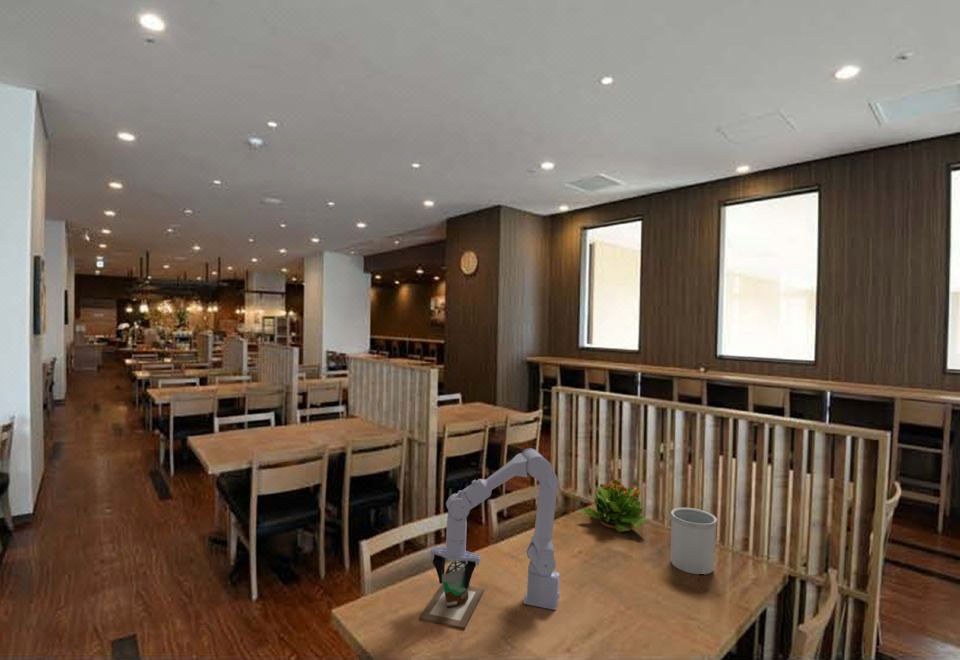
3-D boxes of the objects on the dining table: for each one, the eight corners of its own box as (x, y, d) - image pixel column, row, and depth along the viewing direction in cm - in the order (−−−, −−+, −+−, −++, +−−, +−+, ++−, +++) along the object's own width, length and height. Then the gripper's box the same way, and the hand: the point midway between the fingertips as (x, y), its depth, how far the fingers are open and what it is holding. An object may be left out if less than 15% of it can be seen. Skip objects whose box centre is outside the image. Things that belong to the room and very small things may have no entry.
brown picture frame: (484, 591, 151) (484, 589, 151) (464, 629, 132) (464, 627, 132) (443, 583, 155) (443, 581, 155) (418, 619, 135) (418, 617, 135)
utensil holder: (667, 569, 170) (670, 518, 169) (668, 551, 183) (671, 504, 183) (715, 580, 164) (718, 527, 164) (713, 560, 178) (715, 511, 177)
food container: (466, 611, 138) (462, 574, 138) (445, 611, 139) (441, 575, 139) (476, 588, 150) (472, 554, 150) (457, 588, 151) (453, 555, 151)
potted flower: (581, 531, 197) (583, 487, 197) (579, 509, 221) (581, 470, 220) (647, 539, 193) (649, 494, 193) (638, 515, 217) (640, 475, 216)
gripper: (427, 539, 141) (425, 586, 141) (476, 547, 137) (474, 596, 137) (436, 529, 148) (434, 574, 148) (483, 537, 144) (481, 583, 144)
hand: (454, 584), depth 143 cm, fingers open, 7 cm apart
